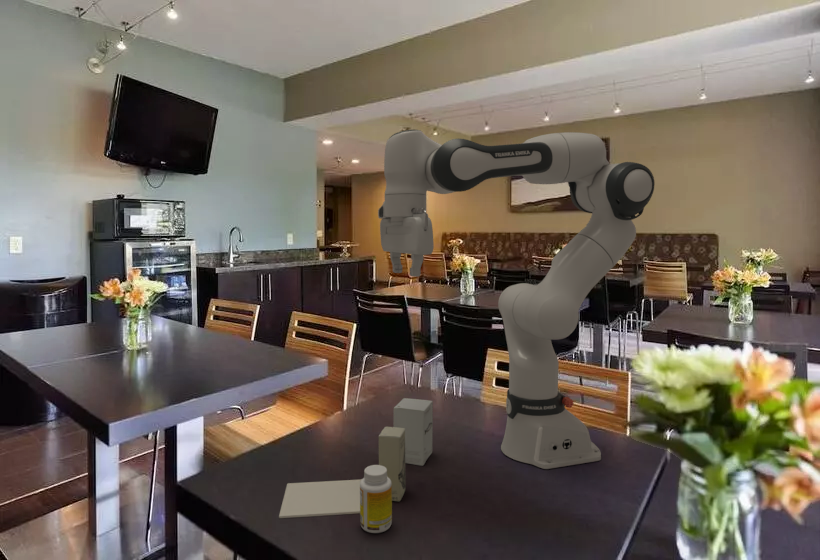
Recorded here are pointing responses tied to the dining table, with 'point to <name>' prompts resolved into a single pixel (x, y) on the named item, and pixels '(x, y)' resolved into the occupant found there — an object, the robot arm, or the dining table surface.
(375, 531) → the supplement bottle
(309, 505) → the mat
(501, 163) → the robot arm
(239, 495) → the dining table surface
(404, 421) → the supplement box
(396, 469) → the box
